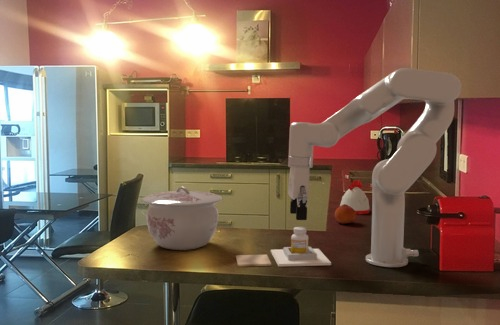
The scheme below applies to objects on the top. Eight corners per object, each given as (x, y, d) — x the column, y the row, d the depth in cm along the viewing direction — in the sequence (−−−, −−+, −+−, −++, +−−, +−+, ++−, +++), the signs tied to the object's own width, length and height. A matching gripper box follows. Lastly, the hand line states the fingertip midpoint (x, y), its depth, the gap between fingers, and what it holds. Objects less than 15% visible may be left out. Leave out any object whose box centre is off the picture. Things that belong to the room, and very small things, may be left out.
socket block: (318, 250, 164) (318, 243, 163) (331, 265, 148) (331, 257, 148) (270, 252, 162) (270, 244, 162) (278, 266, 146) (278, 258, 146)
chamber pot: (211, 258, 154) (211, 193, 152) (128, 253, 159) (127, 190, 157) (230, 237, 181) (230, 182, 179) (160, 234, 186) (159, 179, 184)
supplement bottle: (297, 255, 159) (297, 225, 158) (311, 258, 155) (312, 227, 154) (287, 258, 155) (288, 228, 154) (302, 261, 151) (302, 230, 150)
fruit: (350, 226, 201) (351, 207, 201) (331, 223, 207) (331, 204, 206) (359, 222, 208) (360, 204, 208) (340, 220, 214) (341, 202, 213)
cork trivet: (266, 256, 157) (266, 254, 157) (271, 265, 147) (271, 263, 147) (235, 257, 156) (235, 255, 156) (238, 266, 146) (238, 264, 146)
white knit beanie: (375, 212, 233) (376, 180, 231) (355, 215, 225) (355, 182, 224) (354, 207, 244) (354, 177, 243) (333, 210, 236) (334, 179, 235)
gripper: (283, 159, 160) (281, 211, 162) (293, 164, 143) (291, 222, 145) (306, 159, 161) (304, 211, 163) (319, 165, 144) (316, 222, 146)
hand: (298, 216), depth 154 cm, fingers open, 9 cm apart
